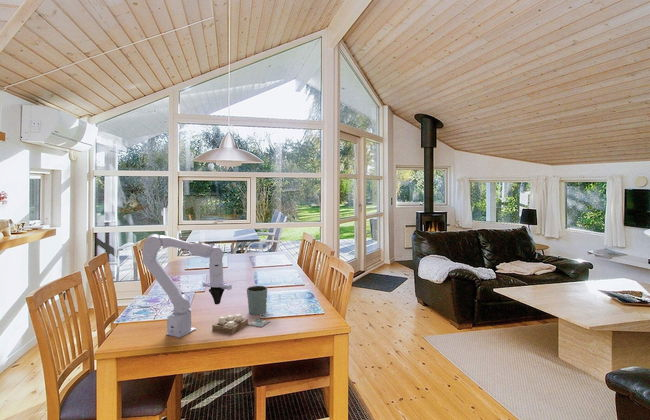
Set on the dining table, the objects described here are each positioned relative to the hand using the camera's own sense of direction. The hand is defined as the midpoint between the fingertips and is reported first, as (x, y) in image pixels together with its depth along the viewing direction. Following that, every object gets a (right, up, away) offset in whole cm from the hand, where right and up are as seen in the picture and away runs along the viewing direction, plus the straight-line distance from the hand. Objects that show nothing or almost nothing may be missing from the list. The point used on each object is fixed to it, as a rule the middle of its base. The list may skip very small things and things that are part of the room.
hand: (217, 303), depth 159 cm
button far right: (+9, -8, +2) cm, 12 cm away
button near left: (+2, -9, -2) cm, 9 cm away
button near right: (+7, -10, -3) cm, 13 cm away
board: (+6, -11, 0) cm, 12 cm away
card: (+17, -10, +5) cm, 21 cm away
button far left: (+5, -10, +4) cm, 11 cm away
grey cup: (+14, -9, +19) cm, 26 cm away
